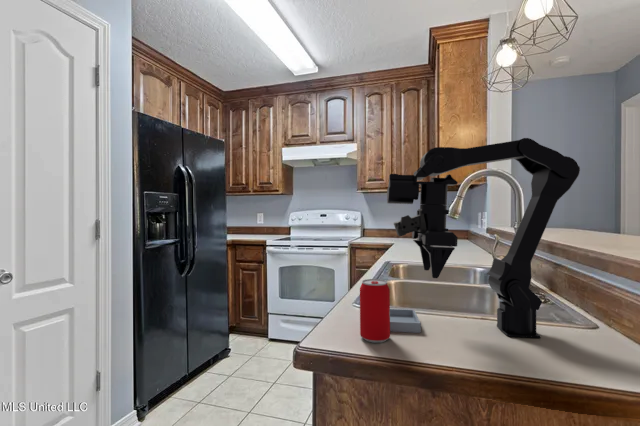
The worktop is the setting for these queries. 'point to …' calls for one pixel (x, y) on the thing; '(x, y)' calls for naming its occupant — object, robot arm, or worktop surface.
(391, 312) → the tray
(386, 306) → the beverage can
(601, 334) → the worktop surface
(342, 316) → the worktop surface
